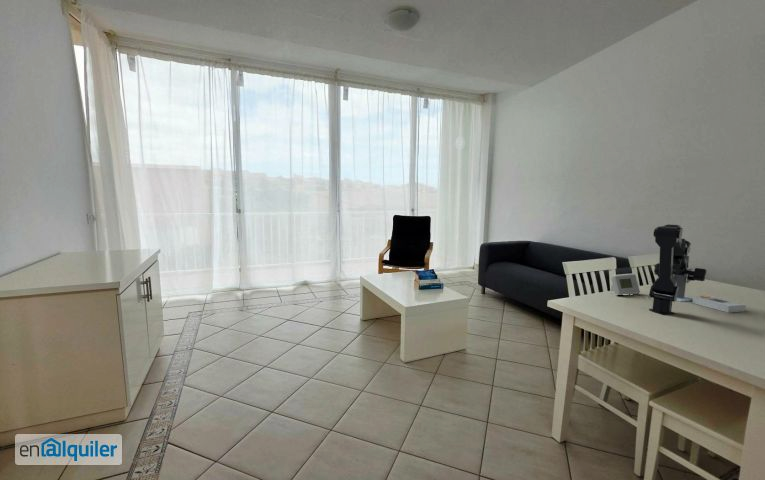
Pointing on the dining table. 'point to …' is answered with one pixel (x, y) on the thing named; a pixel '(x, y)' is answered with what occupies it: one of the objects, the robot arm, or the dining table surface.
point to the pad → (684, 299)
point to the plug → (681, 285)
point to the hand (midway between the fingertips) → (680, 281)
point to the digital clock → (624, 284)
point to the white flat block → (719, 303)
